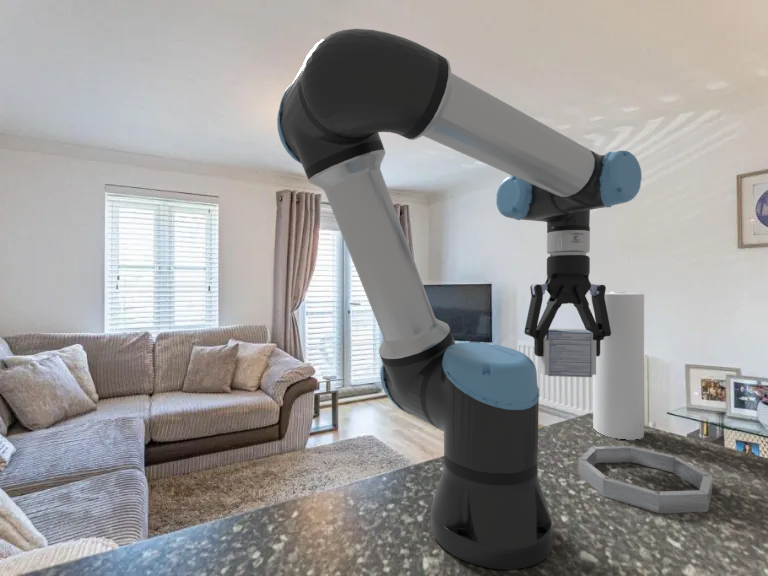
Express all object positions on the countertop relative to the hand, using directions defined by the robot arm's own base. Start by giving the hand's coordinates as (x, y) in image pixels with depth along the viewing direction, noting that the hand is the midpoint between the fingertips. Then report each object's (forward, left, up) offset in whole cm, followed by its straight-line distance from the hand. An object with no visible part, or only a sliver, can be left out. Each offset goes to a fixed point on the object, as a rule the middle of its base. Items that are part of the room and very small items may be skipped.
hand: (566, 373), depth 79 cm
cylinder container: (+15, +8, -15) cm, 23 cm away
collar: (+5, -14, -15) cm, 21 cm away
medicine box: (0, 0, -1) cm, 1 cm away
